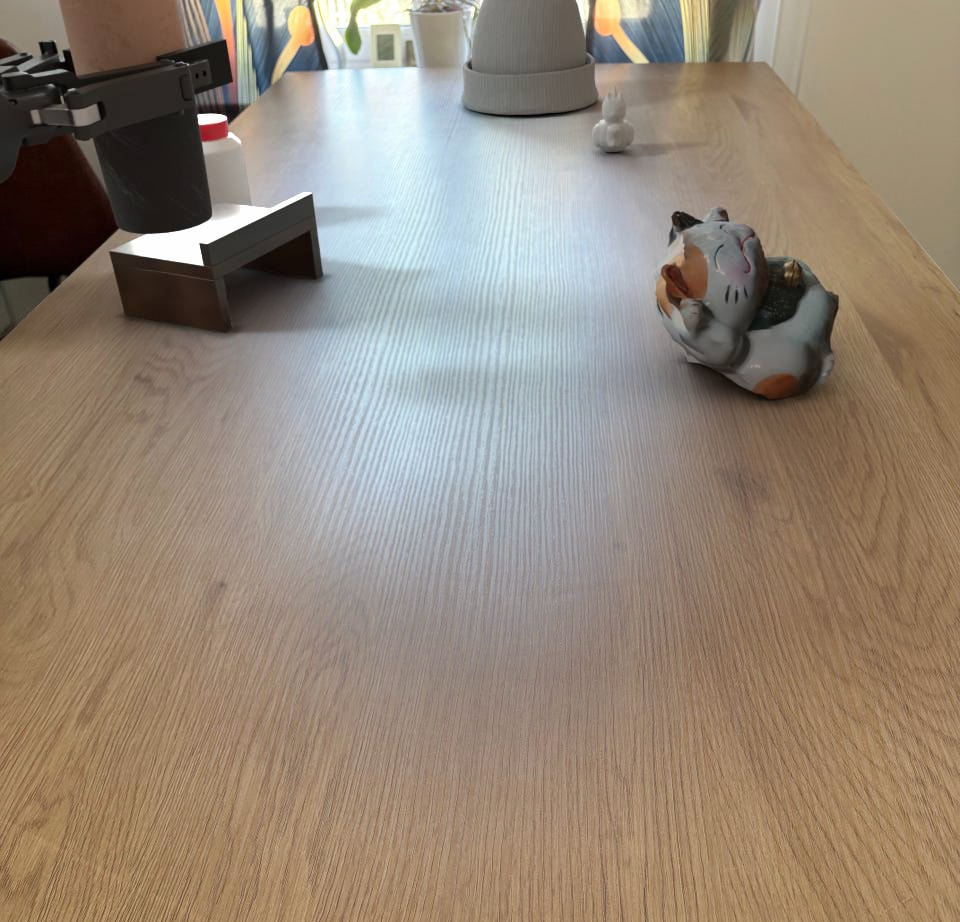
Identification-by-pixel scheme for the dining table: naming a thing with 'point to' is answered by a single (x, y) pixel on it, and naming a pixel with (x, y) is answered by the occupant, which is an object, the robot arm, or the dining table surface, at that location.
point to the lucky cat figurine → (744, 307)
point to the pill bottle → (223, 161)
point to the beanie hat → (529, 59)
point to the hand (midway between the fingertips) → (179, 57)
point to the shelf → (214, 261)
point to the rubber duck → (613, 125)
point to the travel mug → (148, 144)
